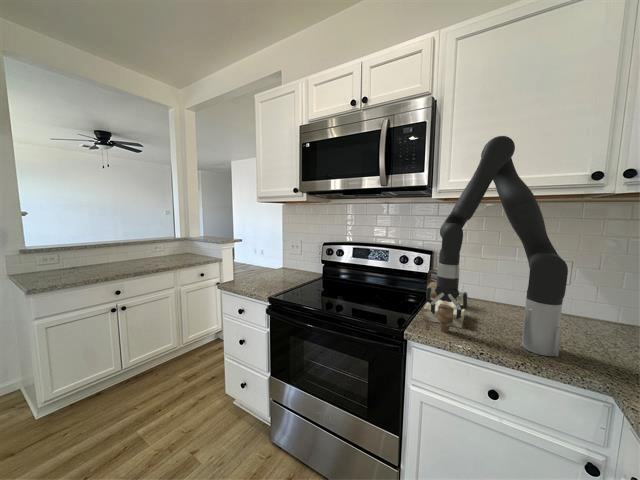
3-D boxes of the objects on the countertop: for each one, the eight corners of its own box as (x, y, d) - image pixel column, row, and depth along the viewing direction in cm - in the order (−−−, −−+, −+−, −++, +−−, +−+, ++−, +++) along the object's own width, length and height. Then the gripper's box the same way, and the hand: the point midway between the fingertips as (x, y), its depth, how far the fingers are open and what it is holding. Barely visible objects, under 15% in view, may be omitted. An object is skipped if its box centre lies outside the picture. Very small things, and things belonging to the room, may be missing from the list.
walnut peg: (452, 330, 103) (454, 307, 102) (451, 335, 99) (452, 311, 98) (438, 326, 106) (439, 304, 105) (435, 332, 102) (437, 308, 101)
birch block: (464, 315, 119) (465, 304, 118) (461, 328, 105) (462, 316, 105) (429, 308, 127) (430, 298, 126) (422, 319, 114) (423, 308, 113)
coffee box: (425, 300, 138) (427, 270, 136) (432, 298, 142) (434, 269, 140) (441, 305, 131) (443, 274, 129) (448, 303, 134) (450, 272, 133)
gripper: (470, 275, 100) (466, 316, 101) (430, 270, 107) (427, 309, 109) (468, 280, 93) (465, 323, 95) (426, 274, 101) (423, 314, 103)
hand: (445, 315), depth 102 cm, fingers open, 8 cm apart
